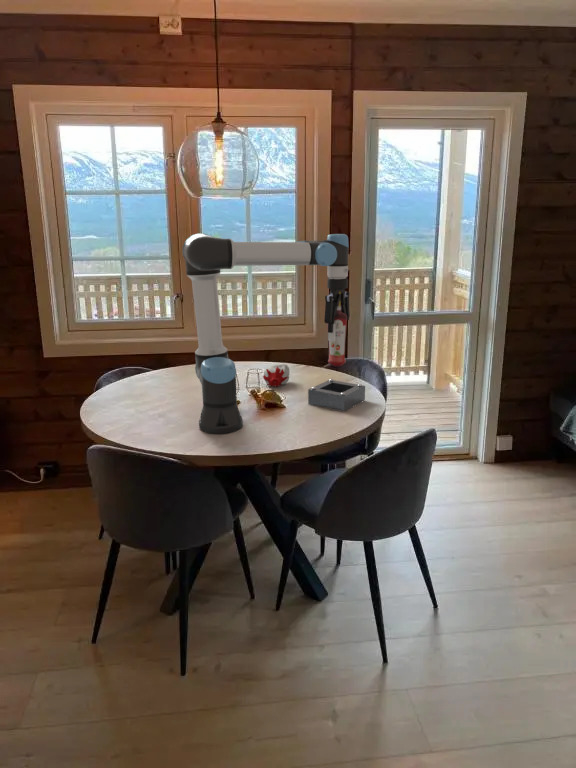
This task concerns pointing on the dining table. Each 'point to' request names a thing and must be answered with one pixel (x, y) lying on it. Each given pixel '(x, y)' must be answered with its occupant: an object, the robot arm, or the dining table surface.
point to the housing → (336, 395)
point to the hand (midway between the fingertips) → (337, 338)
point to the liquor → (338, 339)
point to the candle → (276, 375)
